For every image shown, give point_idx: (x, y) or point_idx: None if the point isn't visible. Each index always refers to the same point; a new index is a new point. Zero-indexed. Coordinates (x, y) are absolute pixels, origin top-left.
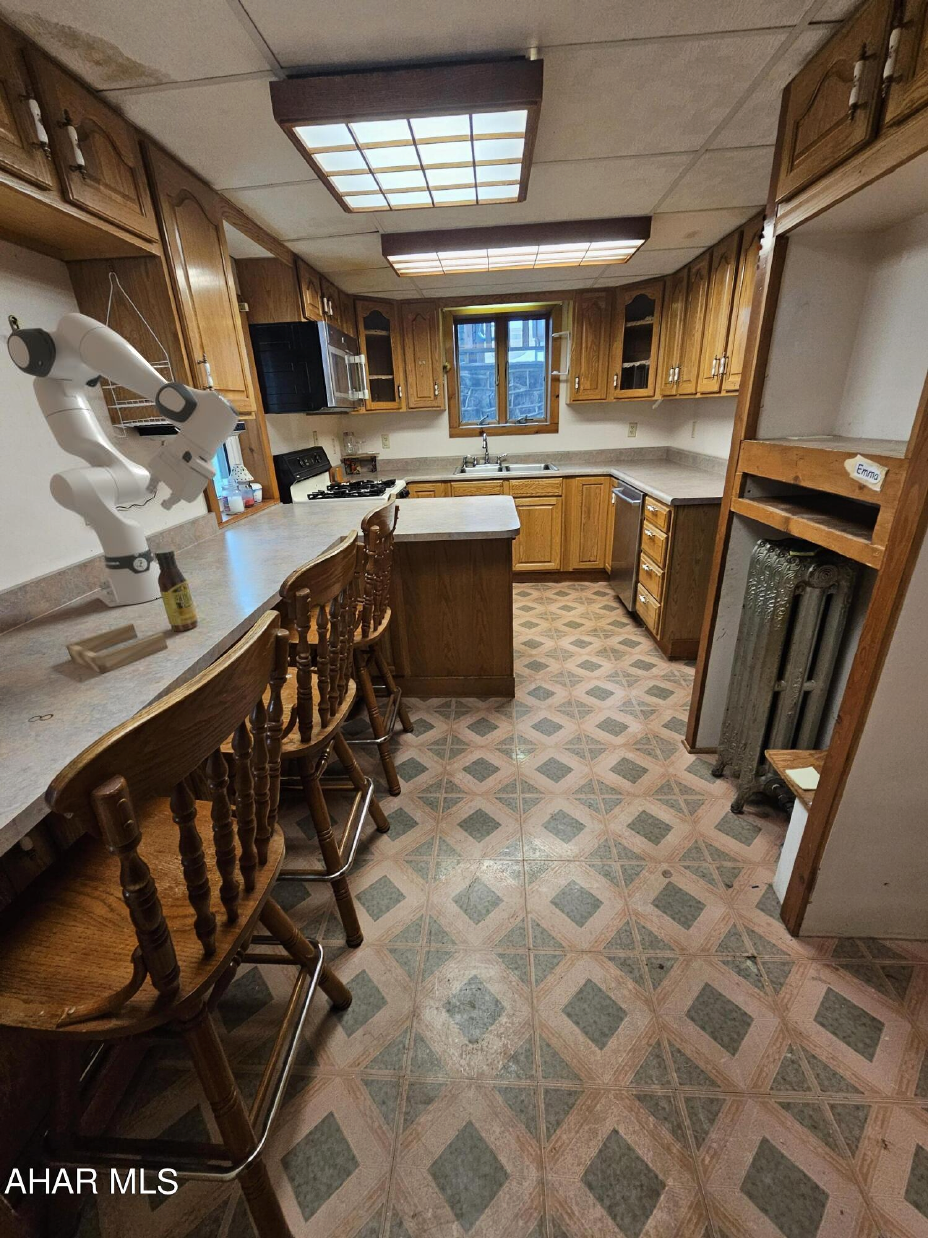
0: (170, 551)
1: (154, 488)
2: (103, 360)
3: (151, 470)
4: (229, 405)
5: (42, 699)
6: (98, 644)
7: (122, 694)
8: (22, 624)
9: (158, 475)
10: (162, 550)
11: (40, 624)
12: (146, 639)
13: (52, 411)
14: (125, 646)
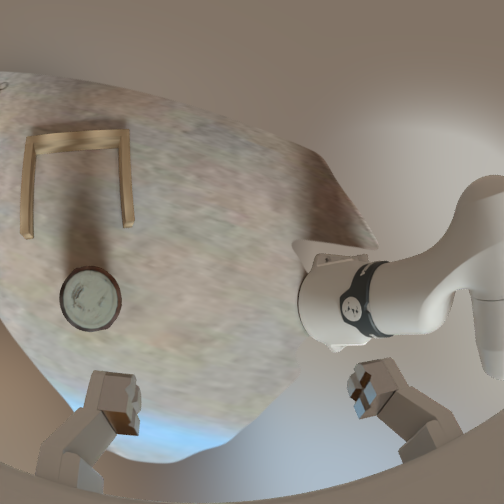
0: (66, 312)
1: (365, 405)
2: None
3: (473, 431)
4: None
5: (35, 94)
6: (120, 169)
7: None
8: (329, 168)
9: (376, 488)
10: (108, 301)
11: (314, 176)
12: (24, 205)
13: None
14: (28, 174)
